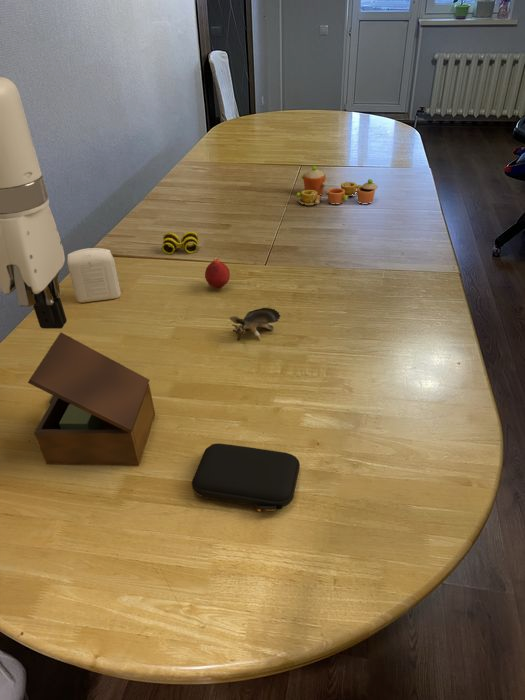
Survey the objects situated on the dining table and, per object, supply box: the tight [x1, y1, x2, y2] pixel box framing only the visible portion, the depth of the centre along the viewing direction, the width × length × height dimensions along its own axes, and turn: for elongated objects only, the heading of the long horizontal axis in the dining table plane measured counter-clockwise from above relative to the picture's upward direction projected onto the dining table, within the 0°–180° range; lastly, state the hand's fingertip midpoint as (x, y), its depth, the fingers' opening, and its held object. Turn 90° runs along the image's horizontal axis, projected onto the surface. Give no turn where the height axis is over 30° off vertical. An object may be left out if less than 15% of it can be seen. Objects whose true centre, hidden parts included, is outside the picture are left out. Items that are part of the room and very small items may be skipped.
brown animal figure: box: [229, 307, 282, 341], centre depth 106 cm, size 8×7×9 cm
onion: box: [204, 257, 231, 290], centre depth 122 cm, size 6×6×8 cm
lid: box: [27, 332, 150, 433], centre depth 77 cm, size 16×12×1 cm
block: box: [59, 404, 102, 430], centre depth 83 cm, size 4×4×4 cm
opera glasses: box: [161, 231, 199, 255], centre depth 141 cm, size 10×5×5 cm, turn 92°
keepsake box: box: [33, 383, 156, 467], centre depth 82 cm, size 15×12×7 cm
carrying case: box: [191, 442, 301, 513], centre depth 75 cm, size 11×3×15 cm
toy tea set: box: [295, 165, 379, 206], centre depth 169 cm, size 26×16×10 cm, turn 85°
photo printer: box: [66, 247, 122, 303], centre depth 119 cm, size 10×4×12 cm, turn 102°
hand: (54, 325), depth 72 cm, fingers closed
